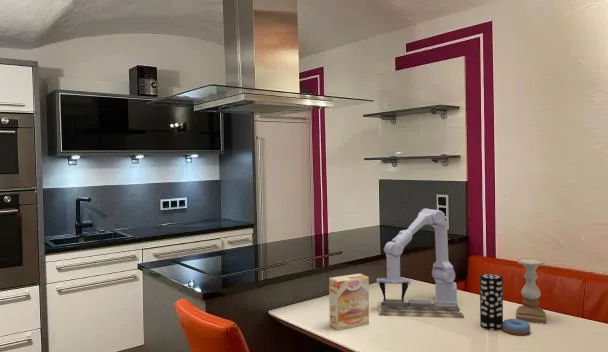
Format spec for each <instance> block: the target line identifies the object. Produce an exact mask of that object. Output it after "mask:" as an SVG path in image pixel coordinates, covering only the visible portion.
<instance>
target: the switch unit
mask: <svg viewBox="0 0 608 352" xmlns="http://www.w3.org/2000/svg"><path fill="white" fill-rule="evenodd" d="M404 303H405V306H383V301H378V316H383V315H384V316H387V317H390V316H391V317H394V316H395V317H416V318H417V317H419V318H420V317H421V318H422V317H423V318H424V317H425V318H447V319H448V318H450V319H451V318H452V319H465V314H464V312H463V311H462V309H461V308H460V306H459V304H458V303H455V304H456V306H457V308H435V307H434V303H435V302H430V304H431V307H409V304H408V302H406V301H404Z"/></svg>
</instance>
